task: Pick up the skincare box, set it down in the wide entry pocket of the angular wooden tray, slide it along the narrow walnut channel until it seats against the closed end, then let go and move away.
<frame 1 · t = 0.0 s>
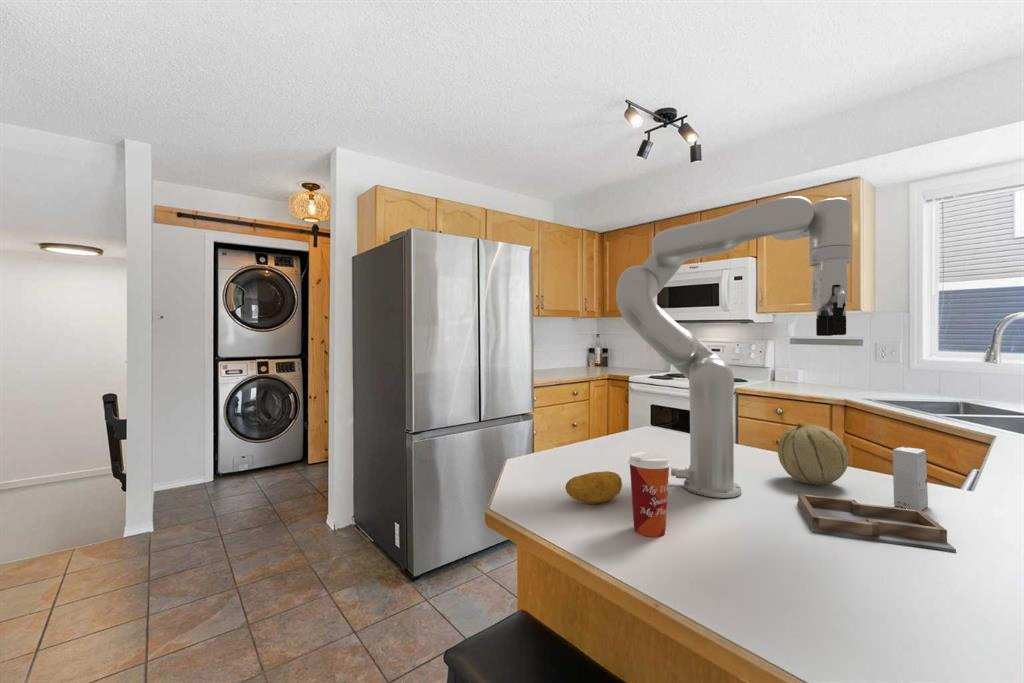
hand: (830, 335, 97), 37 cm above the counter, tool pointing down, fingers open, 9 cm apart
angular wooden tray: (866, 524, 85), on the counter
skincare box: (910, 506, 95), on the counter
cantaloupe: (811, 484, 111), on the counter
paper cup: (649, 531, 83), on the counter
potato: (594, 503, 98), on the counter
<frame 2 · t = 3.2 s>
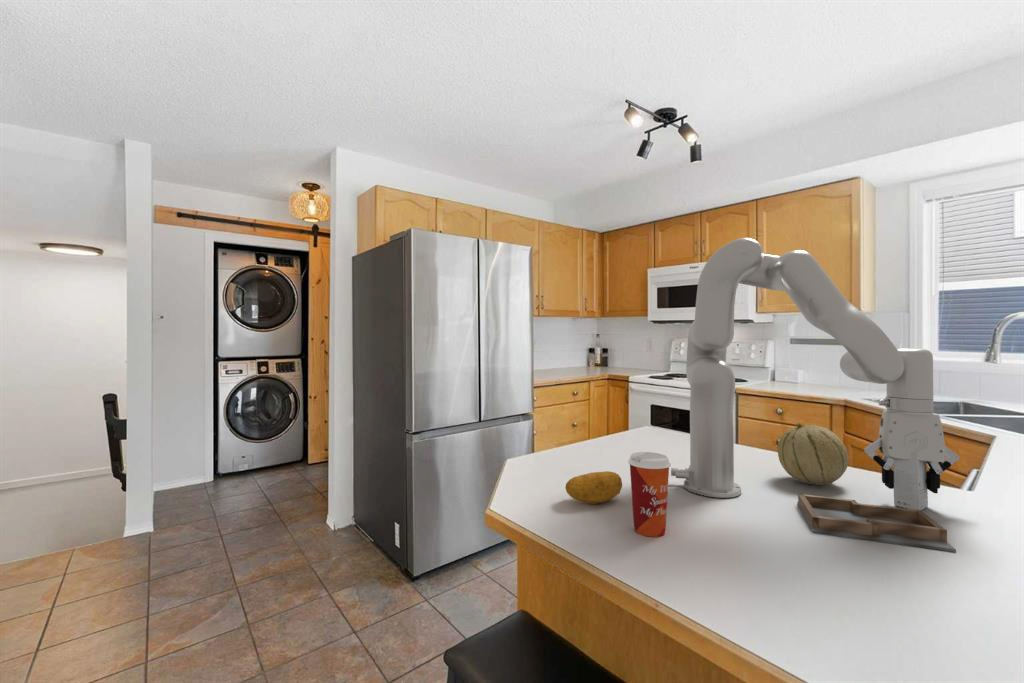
hand: (910, 488, 95), 4 cm above the counter, tool pointing down, fingers closed on skincare box, 6 cm apart
skincare box: (910, 506, 95), on the counter, touching gripper
everything else where it was.
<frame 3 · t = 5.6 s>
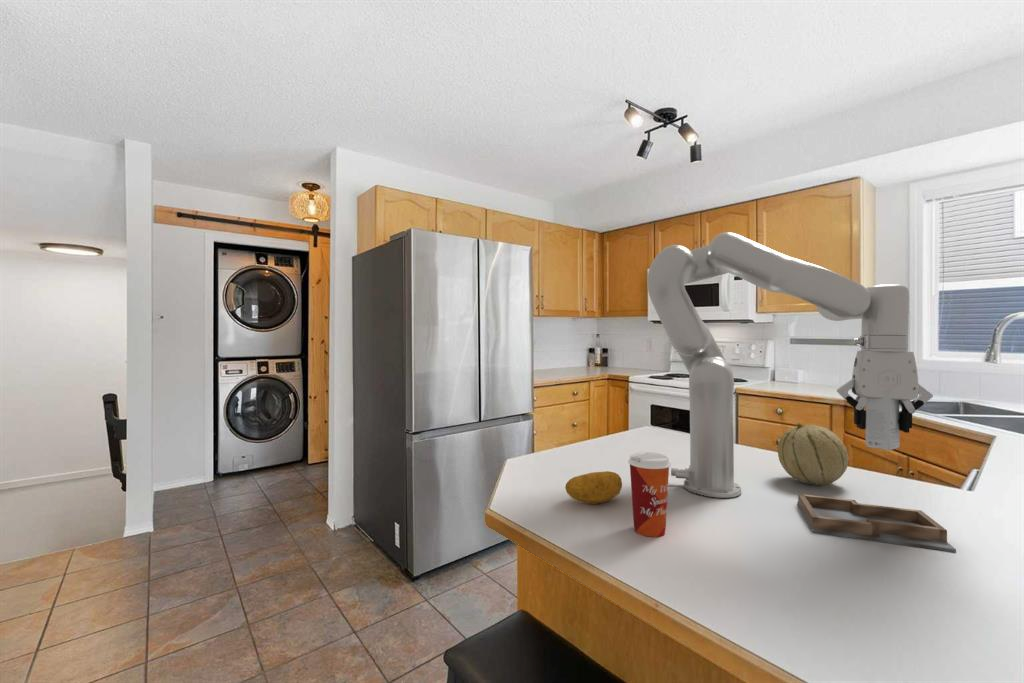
hand: (882, 429, 93), 17 cm above the counter, tool pointing down, fingers closed on skincare box, 6 cm apart
skincare box: (881, 447, 93), point 13 cm above the counter, touching gripper
everything else where it was.
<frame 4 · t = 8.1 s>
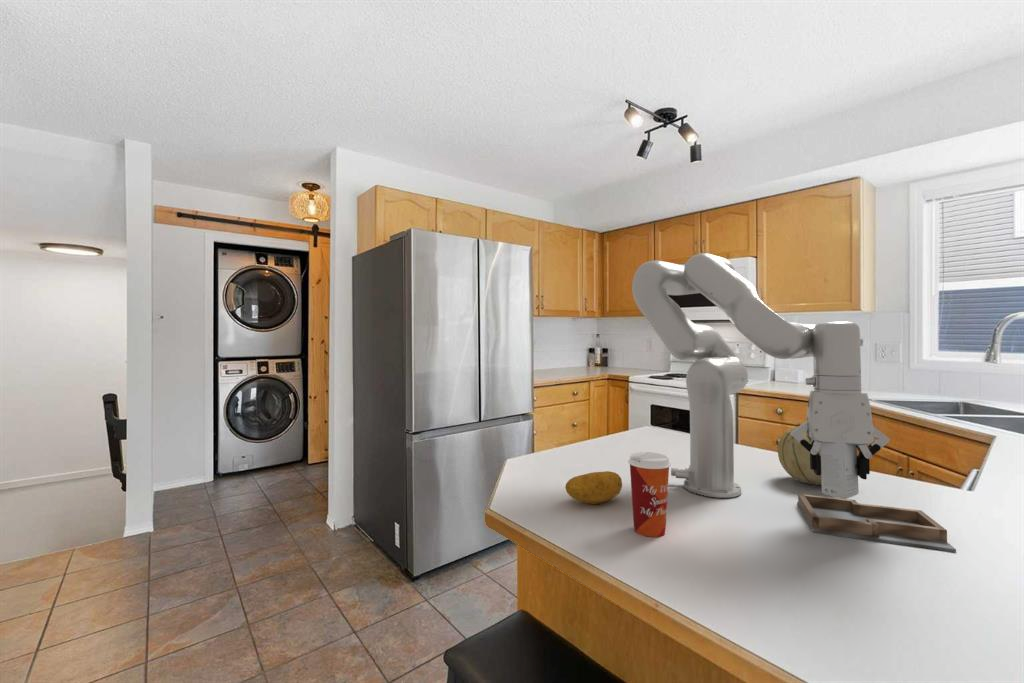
hand: (839, 474, 87), 9 cm above the counter, tool pointing down, fingers closed on skincare box, 6 cm apart
skincare box: (839, 494, 87), point 5 cm above the counter, touching gripper
everything else where it was.
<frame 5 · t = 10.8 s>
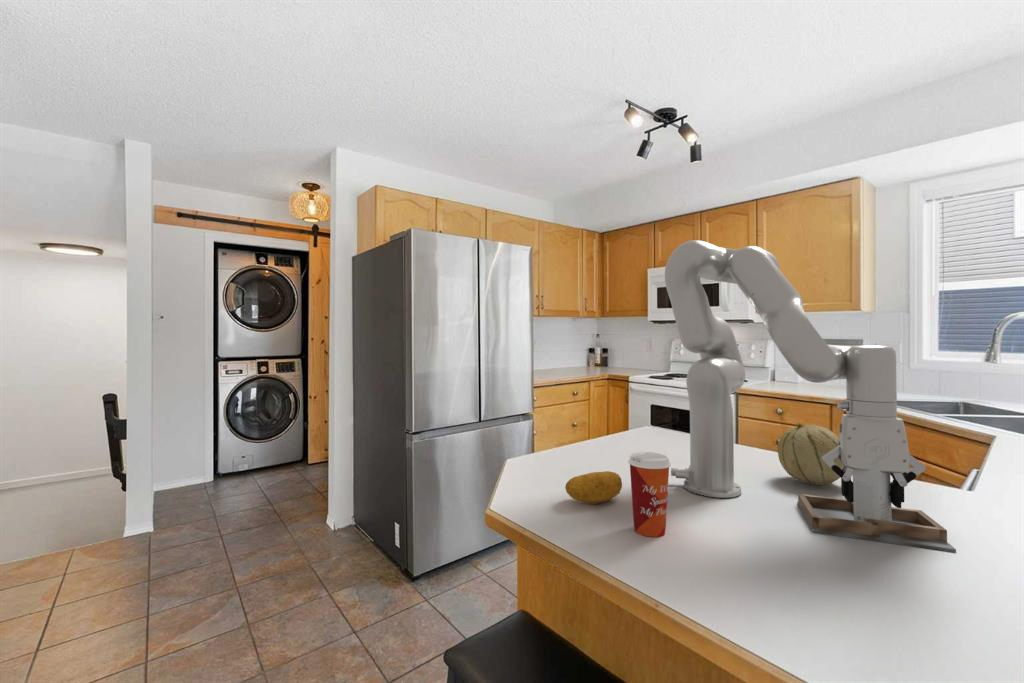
hand: (871, 502, 85), 5 cm above the counter, tool pointing down, fingers closed on skincare box, 6 cm apart
skincare box: (872, 522, 85), point 1 cm above the counter, touching gripper
everything else where it was.
when the fingers open (4 cm above the counter, at t = 13.1 s): skincare box stays where it is, resting on angular wooden tray.
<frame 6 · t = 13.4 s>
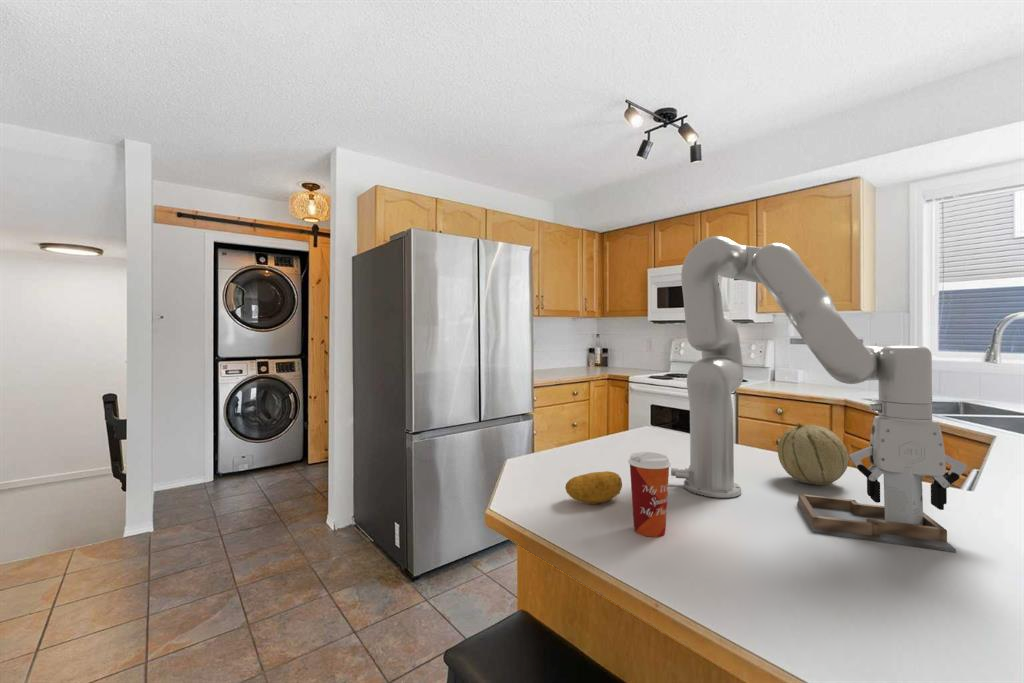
hand: (905, 503, 83), 5 cm above the counter, tool pointing down, fingers open, 8 cm apart
skincare box: (903, 528, 83), resting on angular wooden tray
everything else where it was.
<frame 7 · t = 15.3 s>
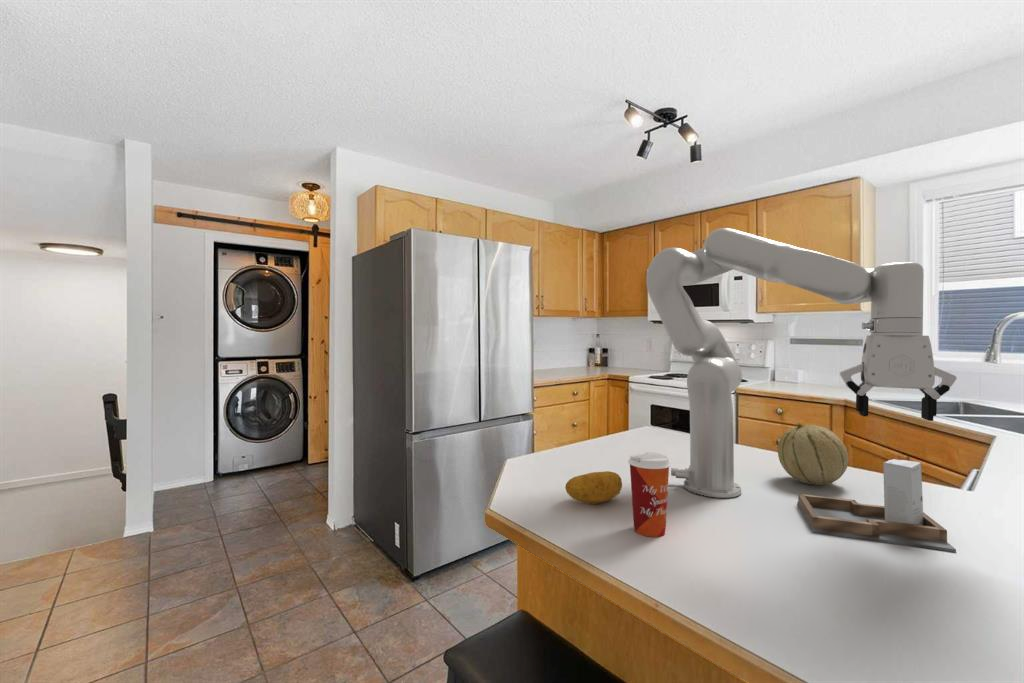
hand: (894, 417, 85), 21 cm above the counter, tool pointing down, fingers open, 9 cm apart
nothing on the counter moved.
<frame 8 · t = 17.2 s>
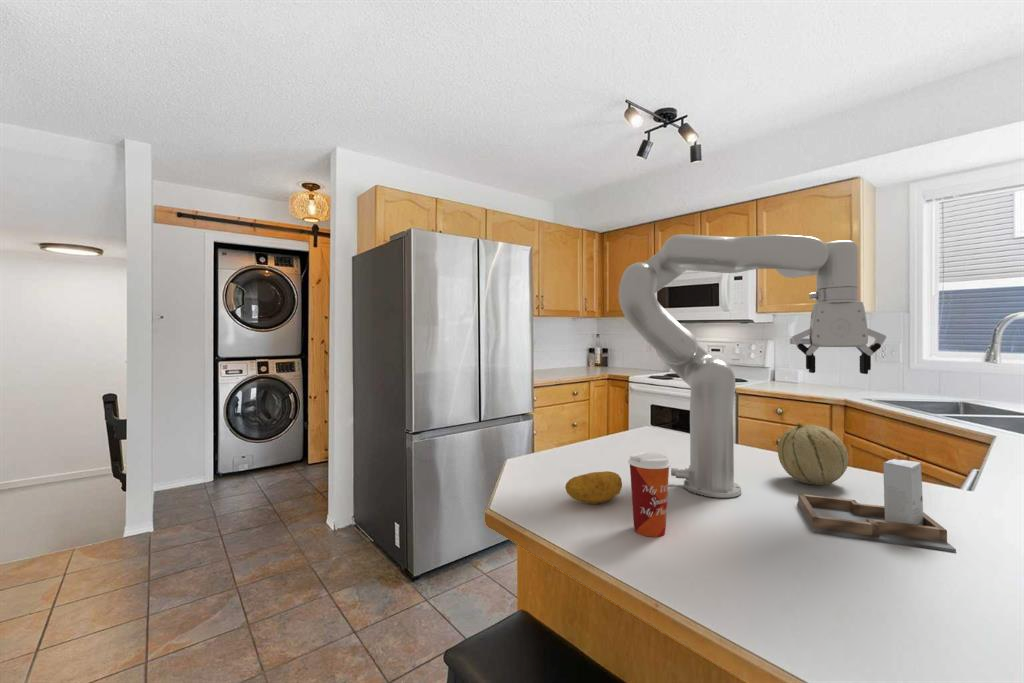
hand: (837, 373, 100), 28 cm above the counter, tool pointing down, fingers open, 9 cm apart
nothing on the counter moved.
at the end: skincare box 0.3 cm from the target spot on the angular wooden tray, point 0.3 cm above the angular wooden tray's base; skincare box tilted 0°; the gripper is holding nothing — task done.
